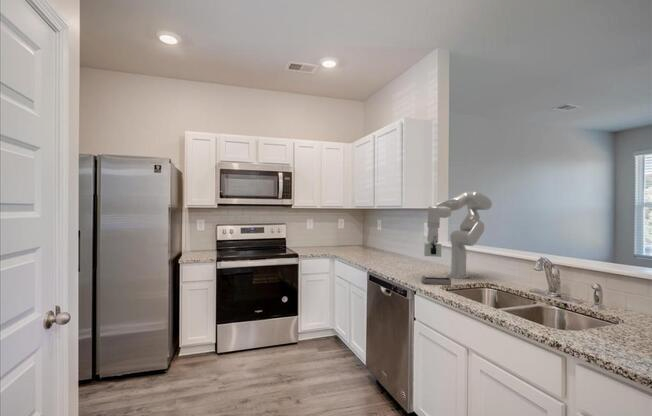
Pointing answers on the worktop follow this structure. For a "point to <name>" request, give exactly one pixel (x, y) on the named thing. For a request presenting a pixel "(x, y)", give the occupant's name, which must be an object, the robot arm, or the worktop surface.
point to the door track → (436, 280)
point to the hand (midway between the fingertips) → (432, 253)
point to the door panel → (428, 250)
